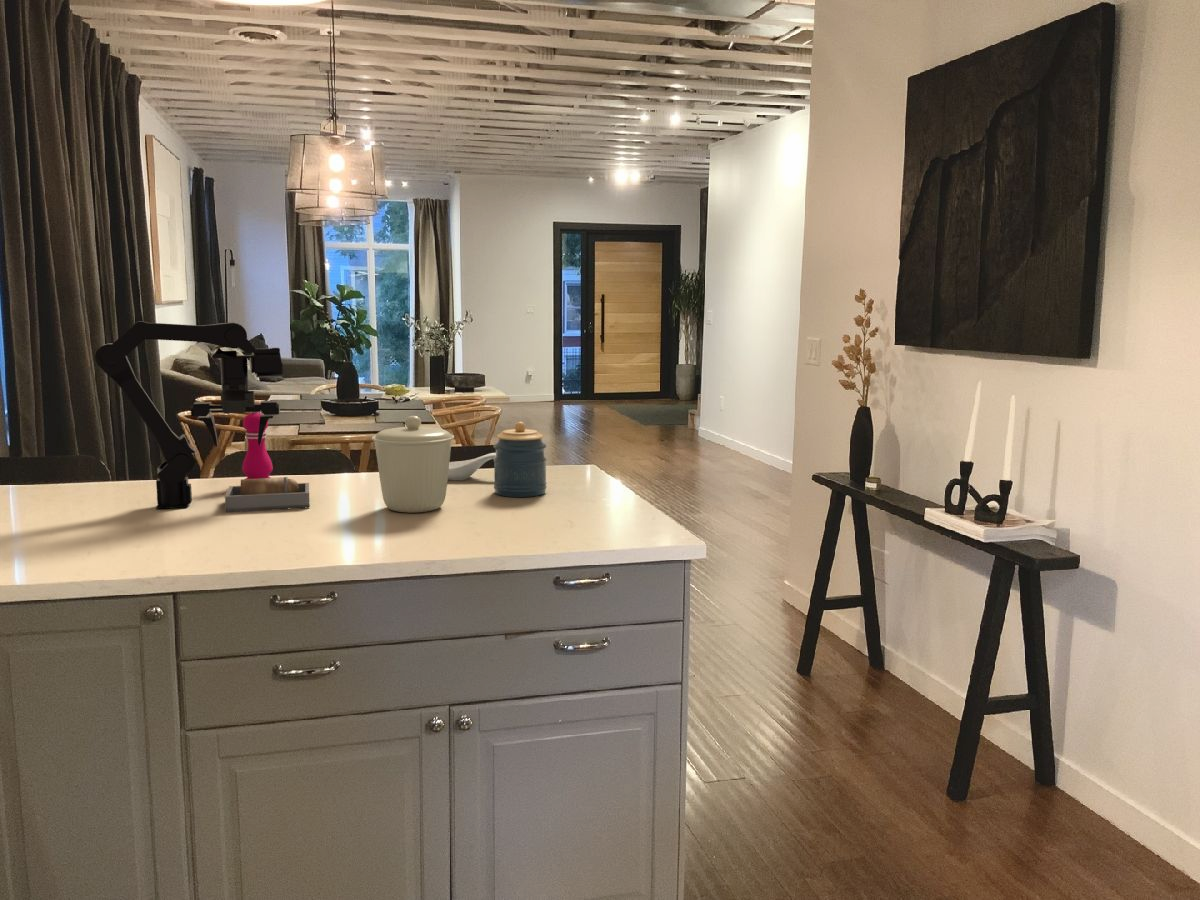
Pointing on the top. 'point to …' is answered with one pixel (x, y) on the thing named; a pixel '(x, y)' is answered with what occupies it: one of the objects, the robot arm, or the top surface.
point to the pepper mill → (255, 450)
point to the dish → (266, 500)
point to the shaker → (268, 486)
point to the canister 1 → (413, 466)
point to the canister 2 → (520, 463)
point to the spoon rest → (467, 467)
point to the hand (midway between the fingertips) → (238, 445)
